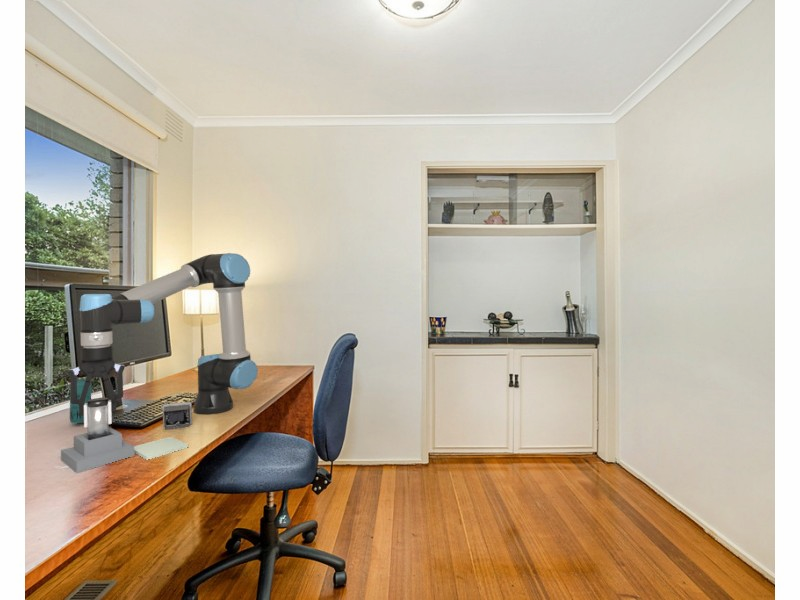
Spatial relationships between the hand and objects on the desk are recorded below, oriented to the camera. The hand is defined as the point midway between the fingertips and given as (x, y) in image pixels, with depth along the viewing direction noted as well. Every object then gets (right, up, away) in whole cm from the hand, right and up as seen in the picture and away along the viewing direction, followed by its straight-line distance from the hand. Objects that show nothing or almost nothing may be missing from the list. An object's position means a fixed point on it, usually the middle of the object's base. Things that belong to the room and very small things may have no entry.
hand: (98, 424), depth 120 cm
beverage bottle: (-29, -10, +30) cm, 43 cm away
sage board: (+14, -10, +7) cm, 19 cm away
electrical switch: (+9, -10, +27) cm, 30 cm away
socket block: (0, -10, 0) cm, 10 cm away
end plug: (0, -6, 0) cm, 6 cm away
